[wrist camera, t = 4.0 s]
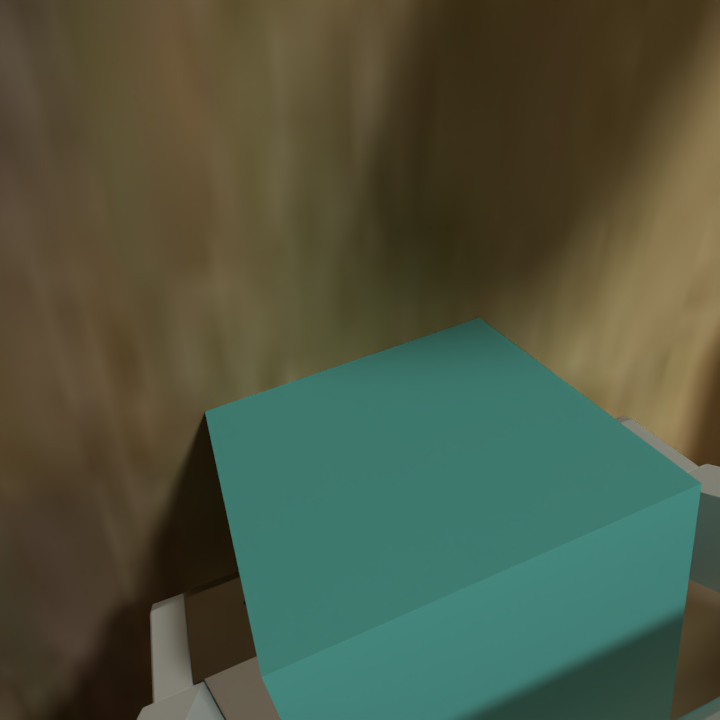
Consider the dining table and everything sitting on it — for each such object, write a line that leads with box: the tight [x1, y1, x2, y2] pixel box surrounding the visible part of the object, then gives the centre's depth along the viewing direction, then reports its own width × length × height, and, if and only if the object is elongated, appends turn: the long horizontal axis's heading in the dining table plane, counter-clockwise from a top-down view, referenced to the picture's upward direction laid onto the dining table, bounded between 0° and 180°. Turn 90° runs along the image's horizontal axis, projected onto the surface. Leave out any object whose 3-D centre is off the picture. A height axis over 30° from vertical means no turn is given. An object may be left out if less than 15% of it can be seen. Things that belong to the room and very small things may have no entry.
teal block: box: [205, 318, 702, 720], centre depth 9 cm, size 5×5×5 cm
